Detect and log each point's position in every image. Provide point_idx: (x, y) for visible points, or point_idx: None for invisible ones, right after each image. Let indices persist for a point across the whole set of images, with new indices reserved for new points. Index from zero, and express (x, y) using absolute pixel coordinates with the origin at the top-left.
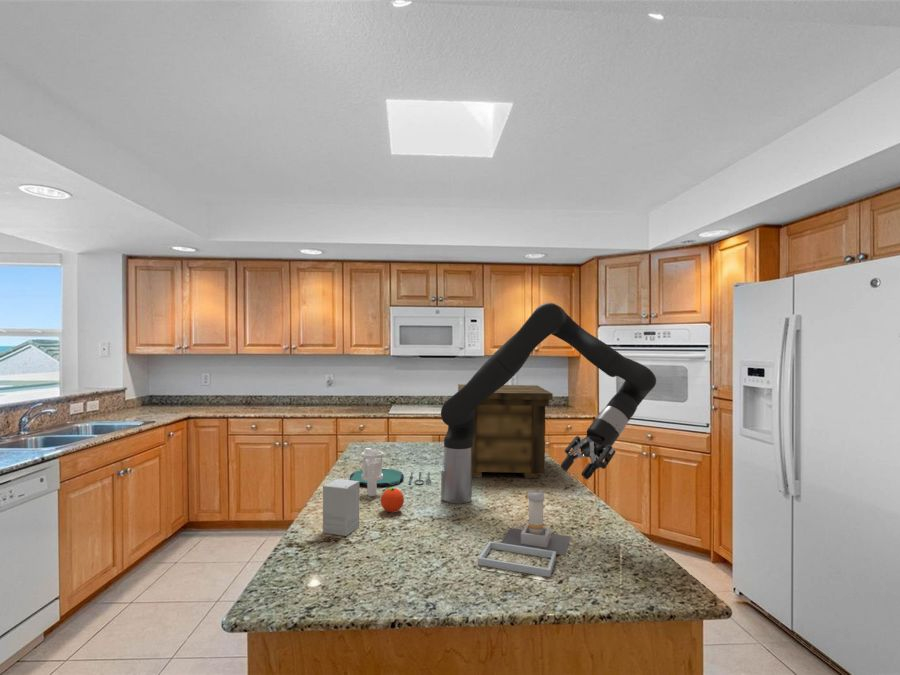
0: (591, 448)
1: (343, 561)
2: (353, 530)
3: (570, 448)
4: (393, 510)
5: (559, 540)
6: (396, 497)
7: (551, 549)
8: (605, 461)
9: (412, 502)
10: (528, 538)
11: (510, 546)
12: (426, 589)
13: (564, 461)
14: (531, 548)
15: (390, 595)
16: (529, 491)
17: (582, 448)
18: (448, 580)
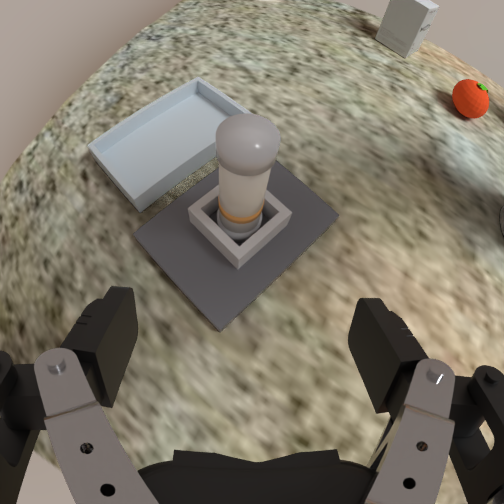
0: (123, 494)
1: (302, 17)
2: (391, 49)
3: (488, 415)
4: (453, 101)
5: (210, 280)
6: (463, 88)
7: (175, 224)
8: (6, 451)
9: (500, 156)
10: None
11: (214, 137)
12: (189, 40)
13: (387, 320)
14: (177, 162)
15: (199, 21)
16: (274, 126)
17: (350, 488)
18: (194, 58)
